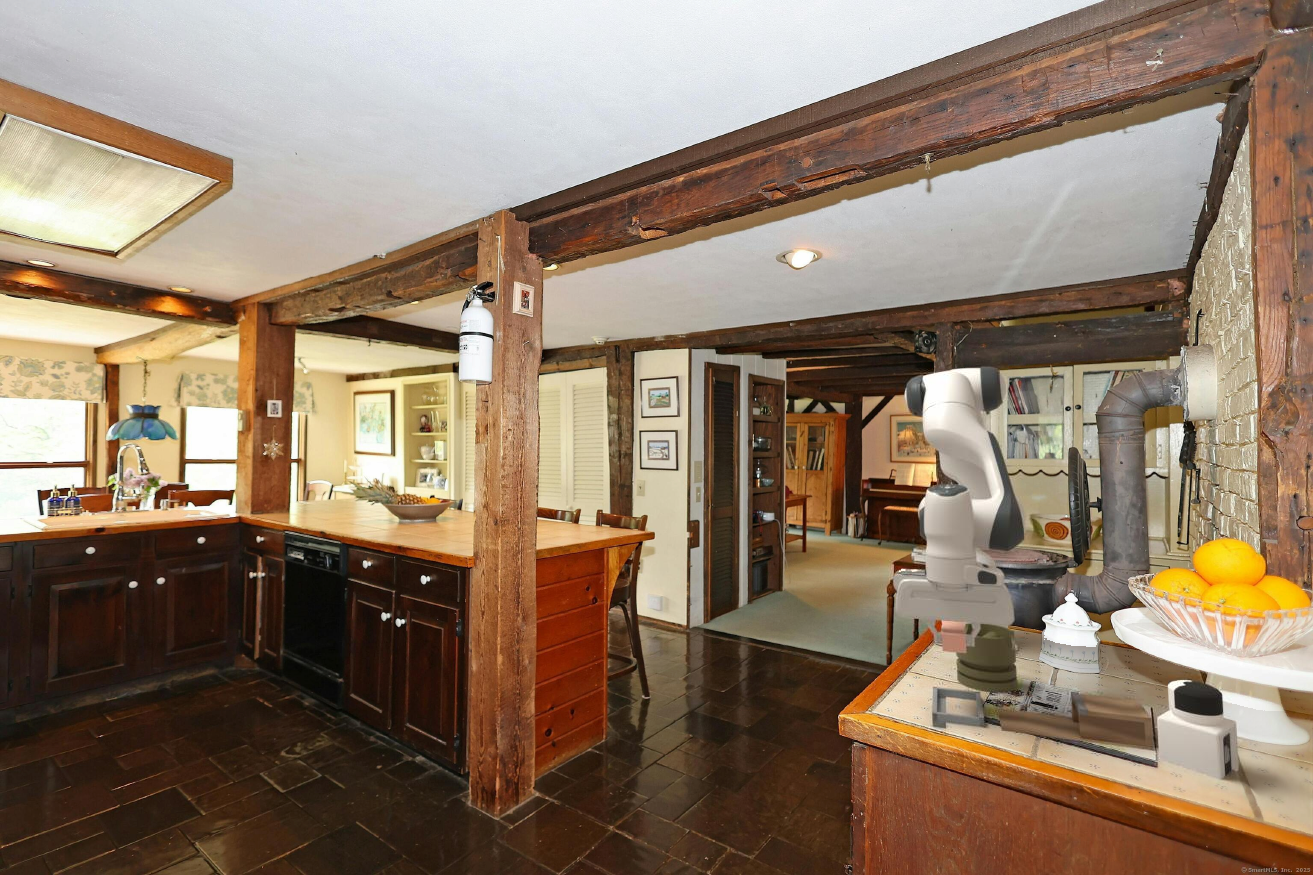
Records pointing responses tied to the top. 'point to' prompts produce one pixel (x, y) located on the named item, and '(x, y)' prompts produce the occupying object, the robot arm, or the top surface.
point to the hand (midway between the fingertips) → (954, 644)
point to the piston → (989, 660)
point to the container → (1197, 730)
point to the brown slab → (1088, 722)
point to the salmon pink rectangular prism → (953, 636)
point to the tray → (942, 717)
